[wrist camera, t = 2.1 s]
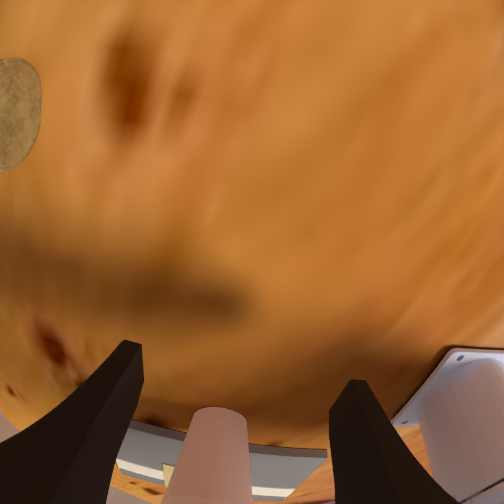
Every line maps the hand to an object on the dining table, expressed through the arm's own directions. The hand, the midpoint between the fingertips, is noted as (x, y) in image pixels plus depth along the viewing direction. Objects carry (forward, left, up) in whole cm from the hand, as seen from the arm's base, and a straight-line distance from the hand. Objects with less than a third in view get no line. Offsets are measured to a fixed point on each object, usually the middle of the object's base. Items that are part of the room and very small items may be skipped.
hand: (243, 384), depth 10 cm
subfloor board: (0, +21, -5) cm, 22 cm away
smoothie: (0, +11, -5) cm, 12 cm away
